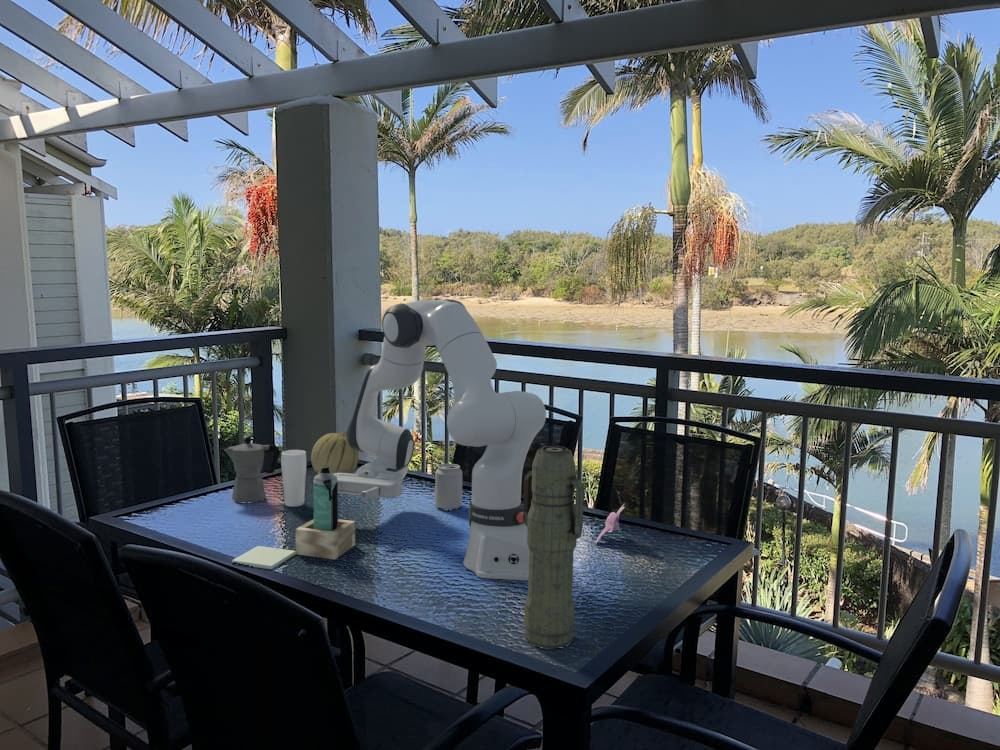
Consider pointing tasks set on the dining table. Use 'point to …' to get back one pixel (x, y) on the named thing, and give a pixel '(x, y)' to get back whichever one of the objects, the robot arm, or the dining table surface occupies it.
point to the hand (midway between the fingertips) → (346, 493)
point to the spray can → (325, 500)
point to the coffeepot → (250, 470)
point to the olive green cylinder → (551, 545)
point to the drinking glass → (293, 476)
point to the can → (448, 486)
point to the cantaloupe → (334, 454)
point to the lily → (612, 523)
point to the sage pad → (264, 557)
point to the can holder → (325, 540)
